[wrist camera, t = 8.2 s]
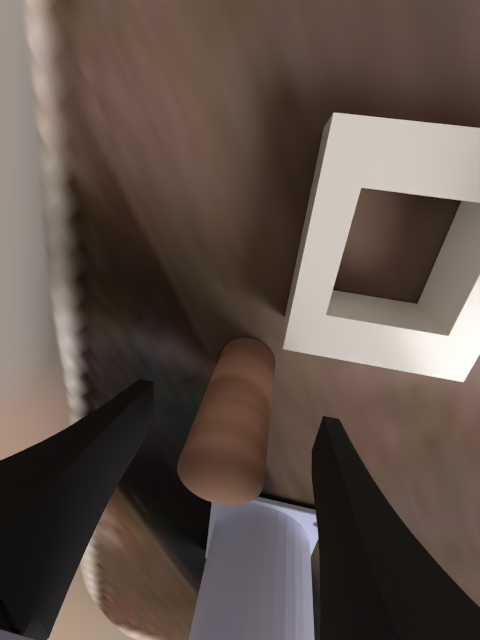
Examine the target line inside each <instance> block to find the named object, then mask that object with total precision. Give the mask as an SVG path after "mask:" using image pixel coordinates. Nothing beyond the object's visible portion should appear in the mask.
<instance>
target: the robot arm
mask: <svg viewBox="0 0 480 640" xmlns="http://www.w3.org/2000/svg"><path fill="white" fill-rule="evenodd" d="M153 419H154V395H153V382H151V381H146V380H141V379H139V380H138V381H136V382H135V383H133V384H132V385H130V386H129V387H128V388H126V389H125V390H123V391H122V392H121V393H119V394H118V395H117V396H115V397H114V398H112V399H111V400H109V401H108V402H107V403H105V404H104V405H102V406H101V407H99V408H98V409H96V410H95V411H93V412H92V413H90V414H89V415H87V416H85V417H84V418H82V419H81V420H79V421H78V422H76V423H74V424H73V425H71V426H69V427H68V428H66V429H65V430H62V431H61V432H59V433H57V434H55V435H53V436H51V437H49V438H48V439H46V440H44V441H42V442H40V443H38V444H36V445H33V446H31V447H29V448H27V449H25V450H23V451H21V452H19V453H17V454H14V455H12V456H10V457H8V458H5V459H3V460H0V640H47V639H48V638H49V636H50V633H51V631H52V628H53V626H54V623H55V621H56V618H57V615H58V613H59V611H60V608H61V606H62V604H63V601H64V599H65V596H66V594H67V591H68V589H69V586H70V584H71V582H72V580H73V577H74V575H75V573H76V570H77V568H78V566H79V564H80V561H81V559H82V557H83V554H84V552H85V550H86V548H87V546H88V543H89V541H90V539H91V537H92V535H93V533H94V530H95V528H96V526H97V524H98V522H99V520H100V518H101V516H102V513H103V511H104V509H105V507H106V505H107V503H108V501H109V499H110V497H111V495H112V494H113V492H114V490H115V488H116V486H117V485H118V483H119V481H120V480H121V478H122V476H123V475H124V473H125V471H126V470H127V468H128V466H129V465H130V463H131V461H132V460H133V458H134V456H135V455H136V453H137V451H138V449H139V448H140V446H141V444H142V443H143V441H144V439H145V437H146V435H147V432H148V430H149V428H150V426H151V423H152V421H153ZM312 483H313V493H314V502H315V510H314V509H309V508H305V507H301V506H296V505H292V504H288V503H283V502H279V501H275V500H270V499H266V498H262V497H256V498H255V499H254V500H252V501H250V502H247V503H244V504H239V505H222V504H217V503H213V502H212V505H211V514H210V522H209V531H208V540H207V548H206V564H205V568H204V573H203V577H202V582H201V586H200V591H199V595H198V599H197V604H196V608H195V613H194V617H193V622H192V626H191V631H190V635H189V639H188V640H314V622H313V600H312V578H311V554H312V552H313V550H314V547H315V545H316V543H317V540H318V538H319V553H320V612H321V629H320V640H480V607H479V606H478V605H477V604H476V603H475V602H474V601H473V600H472V599H471V598H470V597H469V596H468V595H467V594H466V593H465V592H464V591H463V590H462V589H461V588H460V587H459V586H458V585H457V584H456V583H455V582H454V581H453V580H452V578H451V577H450V576H449V575H448V574H447V573H446V572H445V571H444V570H443V569H442V568H441V567H440V565H439V564H438V563H437V562H436V561H435V560H434V559H433V557H432V556H431V555H430V554H429V553H428V552H427V550H426V549H425V548H424V547H423V546H422V545H421V543H420V542H419V541H418V540H417V539H416V538H415V536H414V535H413V534H412V533H411V531H410V530H409V529H408V528H407V526H406V525H405V524H404V523H403V521H402V520H401V519H400V517H399V516H398V515H397V513H396V512H395V511H394V509H393V508H392V506H391V505H390V504H389V502H388V501H387V499H386V498H385V496H384V495H383V494H382V492H381V491H380V489H379V488H378V486H377V485H376V483H375V481H374V480H373V478H372V477H371V475H370V474H369V472H368V470H367V469H366V467H365V465H364V464H363V462H362V460H361V459H360V457H359V455H358V453H357V452H356V450H355V448H354V446H353V444H352V443H351V441H350V439H349V437H348V435H347V433H346V431H345V429H344V427H343V425H342V424H341V422H340V420H339V419H336V418H331V417H326V416H323V419H322V422H321V425H320V428H319V431H318V434H317V437H316V440H315V443H314V446H313V449H312Z"/></svg>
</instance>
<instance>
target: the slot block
mask: <svg viewBox="0 0 480 640" xmlns="http://www.w3.org/2000/svg"><path fill="white" fill-rule="evenodd" d="M361 188H368V189H376V190H384V191H392V192H399V193H407V194H415V195H423V196H430V197H438V198H446V199H454V200H461V203H460V205H459V208H458V210H457V212H456V215H455V217H454V219H453V222H452V224H451V226H450V229H449V231H448V233H447V236H446V238H445V240H444V243H443V245H442V247H441V250H440V252H439V255H438V257H437V259H436V262H435V264H434V266H433V269H432V271H431V273H430V276H429V278H428V280H427V283H426V285H425V287H424V290H423V292H422V294H421V297H420V299H419V301H418V304H415V303H409V302H403V301H397V300H391V299H384V298H378V297H372V296H366V295H360V294H354V293H347V292H341V291H335V290H333V288H334V284H335V280H336V277H337V273H338V270H339V266H340V262H341V259H342V255H343V251H344V248H345V244H346V241H347V237H348V233H349V230H350V226H351V222H352V219H353V215H354V212H355V208H356V204H357V201H358V197H359V193H360V190H361ZM283 349H285V350H290V351H296V352H301V353H307V354H312V355H318V356H323V357H329V358H334V359H340V360H345V361H351V362H356V363H362V364H367V365H373V366H378V367H383V368H389V369H394V370H400V371H405V372H411V373H416V374H422V375H427V376H433V377H438V378H444V379H449V380H455V381H460V382H464V380H465V379H466V377H467V375H468V373H469V372H470V370H471V368H472V367H473V365H474V363H475V361H476V360H477V358H478V356H479V355H480V128H475V127H466V126H456V125H447V124H438V123H428V122H419V121H409V120H400V119H391V118H381V117H372V116H363V115H353V114H344V113H335V112H333V114H332V115H331V117H330V119H329V120H328V122H327V123H326V125H325V126H324V128H323V133H322V138H321V143H320V148H319V153H318V158H317V163H316V167H315V172H314V177H313V182H312V187H311V192H310V197H309V201H308V206H307V211H306V216H305V221H304V226H303V231H302V236H301V240H300V245H299V250H298V255H297V260H296V265H295V270H294V275H293V279H292V284H291V289H290V294H289V299H288V304H287V309H286V314H285V321H284V338H283Z"/></svg>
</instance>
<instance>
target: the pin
mask: <svg viewBox="0 0 480 640" xmlns="http://www.w3.org/2000/svg"><path fill="white" fill-rule="evenodd" d="M274 369H275V358H274V355H273V353H272V351H271V349H270V348H269V347H268V346H267V345H266V344H265V343H263V342H262V341H260V340H257V339H255V338H250V337H241V338H237V339H234V340H232V341H230V342H229V343H228V344H227V345H226V346H225V347H224V348H223V350H222V353H221V355H220V358H219V360H218V363H217V365H216V368H215V370H214V373H213V375H212V378H211V380H210V383H209V385H208V388H207V390H206V393H205V395H204V398H203V400H202V403H201V405H200V408H199V410H198V413H197V415H196V418H195V420H194V423H193V425H192V428H191V430H190V433H189V435H188V438H187V440H186V443H185V445H184V448H183V450H182V453H181V455H180V458H179V460H178V463H177V472H178V475H179V478H180V480H181V481H182V483H183V484H184V485H185V486H186V487H187V488H188V489H189V490H190V491H191V492H192V493H194V494H195V495H197V496H199V497H200V498H202V499H205V500H207V501H210V502H213V503H217V504H222V505H239V504H244V503H247V502H250V501H252V500H254V499H255V498H256V497H258V496H259V494H260V493H261V491H262V490H263V487H264V478H265V467H266V456H267V445H268V434H269V423H270V412H271V402H272V391H273V380H274Z"/></svg>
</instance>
